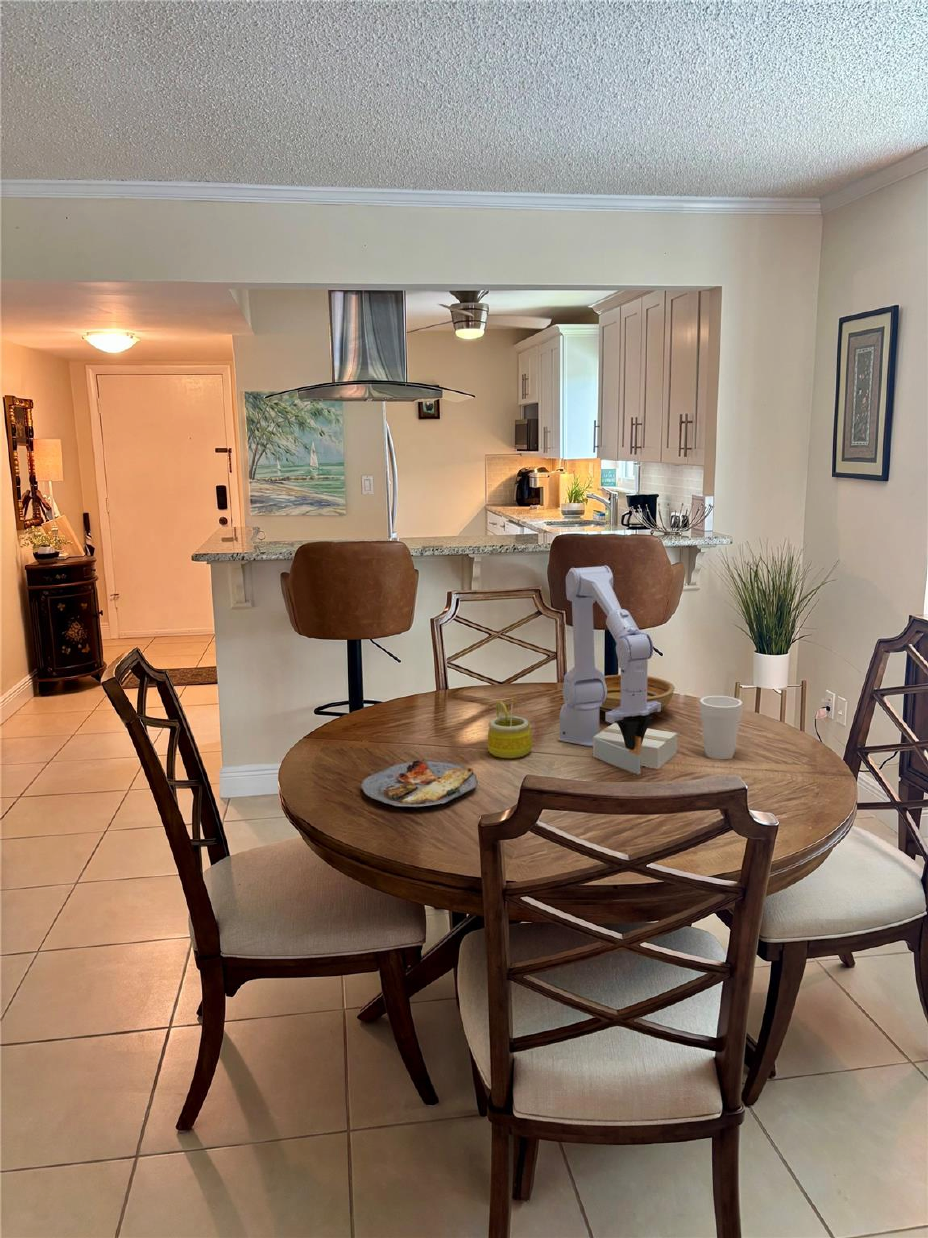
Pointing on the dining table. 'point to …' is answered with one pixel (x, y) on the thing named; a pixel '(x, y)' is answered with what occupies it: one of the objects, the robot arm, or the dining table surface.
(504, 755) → the yellow plant pot
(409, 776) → the food plate
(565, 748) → the dining table surface
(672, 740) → the carton
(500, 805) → the dining table surface
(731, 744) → the foam cup
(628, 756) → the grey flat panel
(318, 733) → the dining table surface
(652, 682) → the wooden bowl
